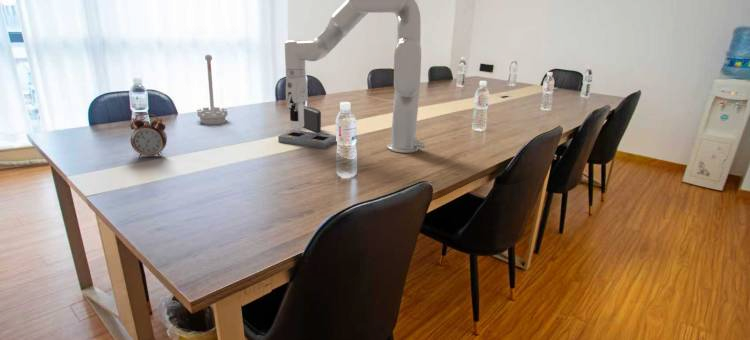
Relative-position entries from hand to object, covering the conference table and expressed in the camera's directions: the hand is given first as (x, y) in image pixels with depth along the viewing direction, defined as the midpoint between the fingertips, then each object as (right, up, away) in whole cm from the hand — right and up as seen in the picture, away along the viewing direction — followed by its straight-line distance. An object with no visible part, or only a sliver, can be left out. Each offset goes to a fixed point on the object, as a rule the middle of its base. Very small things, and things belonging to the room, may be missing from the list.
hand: (297, 119), depth 173 cm
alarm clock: (-45, -16, -25) cm, 54 cm away
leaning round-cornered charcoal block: (+2, -2, +21) cm, 21 cm away
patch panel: (+4, -9, +1) cm, 10 cm away
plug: (0, -3, +1) cm, 3 cm away
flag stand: (-44, +2, +26) cm, 51 cm away
